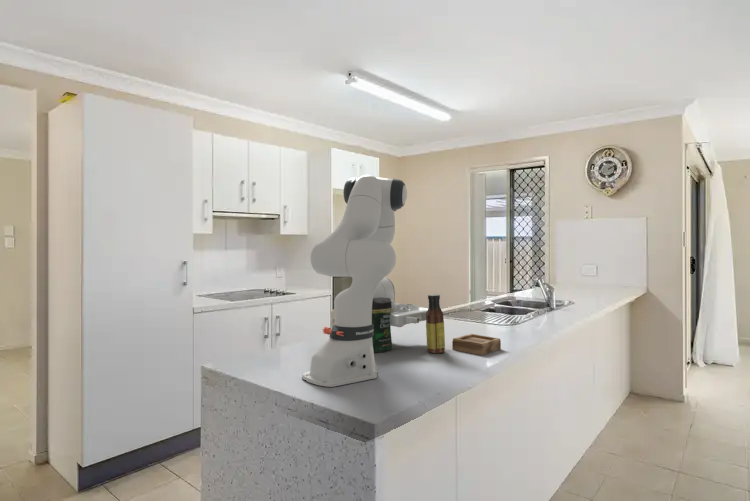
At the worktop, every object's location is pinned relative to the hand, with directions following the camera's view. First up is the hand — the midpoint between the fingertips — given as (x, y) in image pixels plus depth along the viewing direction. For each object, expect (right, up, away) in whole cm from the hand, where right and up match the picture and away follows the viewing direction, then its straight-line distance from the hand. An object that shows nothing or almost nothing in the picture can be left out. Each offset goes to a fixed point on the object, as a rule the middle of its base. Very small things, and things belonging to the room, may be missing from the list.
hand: (426, 319), depth 162 cm
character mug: (-31, -11, +9) cm, 34 cm away
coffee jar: (-17, -11, +1) cm, 20 cm away
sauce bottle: (+3, -11, -2) cm, 12 cm away
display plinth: (+18, -11, +1) cm, 21 cm away
